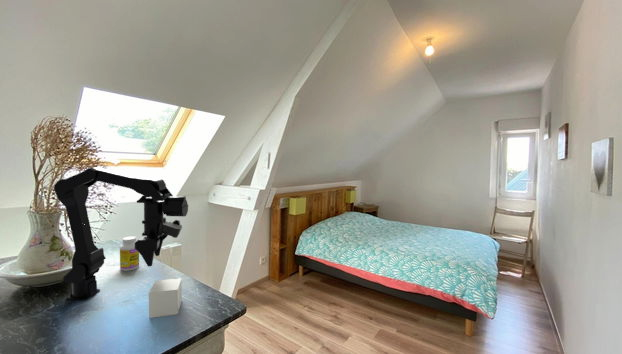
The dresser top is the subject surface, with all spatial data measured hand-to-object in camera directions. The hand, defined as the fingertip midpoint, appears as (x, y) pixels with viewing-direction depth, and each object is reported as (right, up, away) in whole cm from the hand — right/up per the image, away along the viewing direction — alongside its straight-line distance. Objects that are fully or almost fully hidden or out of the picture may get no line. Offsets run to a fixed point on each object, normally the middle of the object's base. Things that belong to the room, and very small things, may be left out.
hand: (153, 260), depth 93 cm
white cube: (+9, -13, -8) cm, 17 cm away
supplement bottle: (-22, -10, +20) cm, 31 cm away
